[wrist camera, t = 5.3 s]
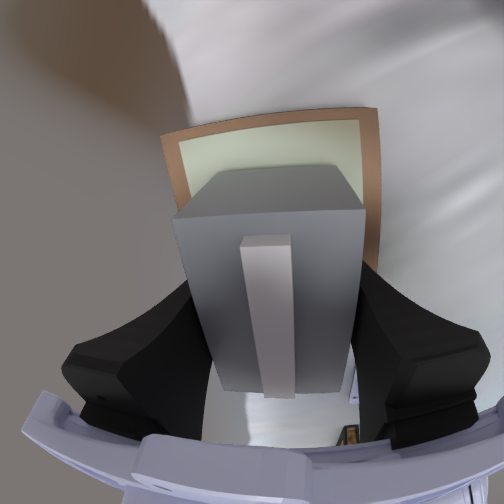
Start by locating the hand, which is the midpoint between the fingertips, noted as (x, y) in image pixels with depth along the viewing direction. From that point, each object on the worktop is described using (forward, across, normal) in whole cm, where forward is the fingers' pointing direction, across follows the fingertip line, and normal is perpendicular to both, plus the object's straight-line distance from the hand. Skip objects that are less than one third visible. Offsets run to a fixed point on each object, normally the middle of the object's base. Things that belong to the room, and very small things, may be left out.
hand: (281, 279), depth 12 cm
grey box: (+2, 0, 0) cm, 2 cm away
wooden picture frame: (+5, 0, 0) cm, 5 cm away
